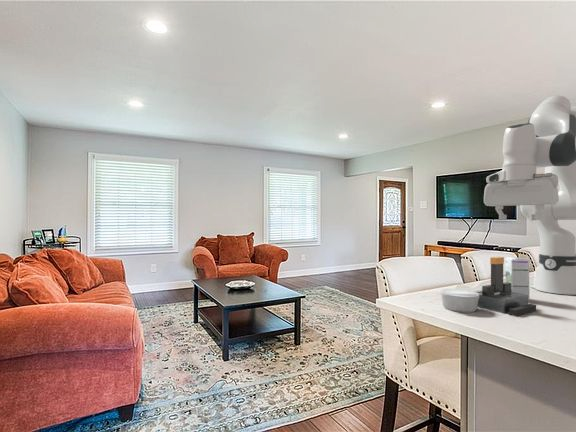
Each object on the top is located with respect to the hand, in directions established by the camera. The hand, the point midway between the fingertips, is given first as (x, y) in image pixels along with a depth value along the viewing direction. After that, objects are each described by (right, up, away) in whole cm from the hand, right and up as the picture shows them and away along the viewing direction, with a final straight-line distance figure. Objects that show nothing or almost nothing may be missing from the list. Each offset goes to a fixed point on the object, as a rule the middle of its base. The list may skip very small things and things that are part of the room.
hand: (518, 220), depth 109 cm
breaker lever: (-3, -23, +5) cm, 24 cm away
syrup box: (+10, -28, +16) cm, 34 cm away
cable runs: (-5, -28, +6) cm, 29 cm away
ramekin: (-17, -28, +2) cm, 33 cm away
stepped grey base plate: (-3, -28, +5) cm, 29 cm away
